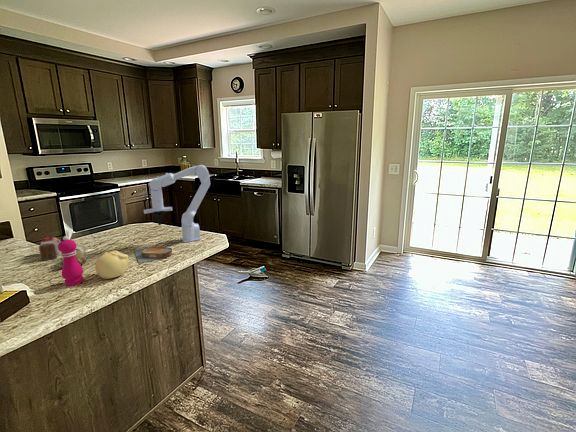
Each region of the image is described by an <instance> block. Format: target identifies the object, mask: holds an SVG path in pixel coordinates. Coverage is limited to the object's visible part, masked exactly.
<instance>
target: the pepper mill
mask: <svg viewBox="0 0 576 432" xmlns="http://www.w3.org/2000/svg"><path fill="white" fill-rule="evenodd" d="M76 244H77V243H76V241H75V240H73V239H69V236H66V235H64V236H63V238H62V240H60V243H59V244H58V250H59V251H60V255H61V258H62V259H64V265H63V267H62V269H61V277H62V278H63V279H64V285H65V286H67V287H75V286H77V285H79V284H82V283H83V282H84V280H85V279H84V276H83V274H84V268H83V267H82V264H79V263H78V261H77V259H76V250H75V249H76V246H77V245H78V244H77V245H76Z"/></svg>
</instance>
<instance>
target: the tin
mask: <svg viewBox="0 0 576 432" xmlns="http://www.w3.org/2000/svg"><path fill="white" fill-rule="evenodd" d="M144 248H145V249H143V248H142V249H143V250H141V253H142V256H143V257H146V258H162V259H163V258H167V257H170V256H171V255H172V254H173V248H172V247H166V246H165V247H163V246H162V247H161V246H155V247H154V246H149V247H144Z"/></svg>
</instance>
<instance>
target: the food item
mask: <svg viewBox="0 0 576 432" xmlns="http://www.w3.org/2000/svg"><path fill="white" fill-rule="evenodd" d="M60 242H61V240H60V239H58V237H55V236H49V237H46V236H45V237H43V238H42V239H41V241H40V244H39V245H38V250H39V255H40V258H41V260H42V261H50V260H56V259H57V258H58V256H60V255H61V251H59V250H58V244H59V243H60Z"/></svg>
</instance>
